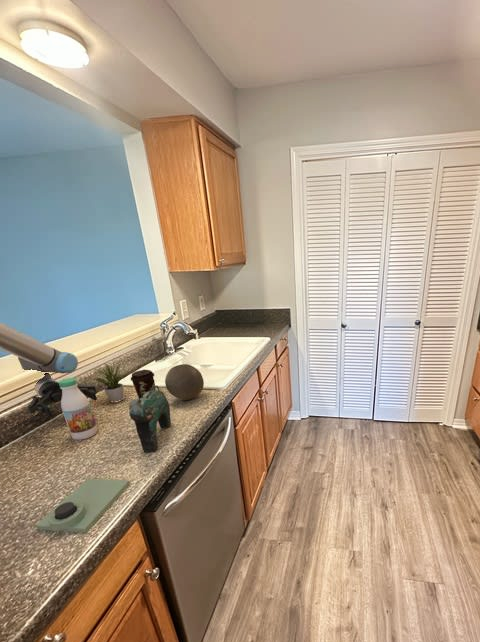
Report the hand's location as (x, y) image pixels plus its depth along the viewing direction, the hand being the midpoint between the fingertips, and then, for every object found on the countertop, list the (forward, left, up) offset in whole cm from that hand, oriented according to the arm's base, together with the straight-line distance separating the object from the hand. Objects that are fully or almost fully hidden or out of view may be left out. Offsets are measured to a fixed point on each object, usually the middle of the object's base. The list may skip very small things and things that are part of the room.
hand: (73, 404), depth 107 cm
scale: (+7, -42, -11) cm, 44 cm away
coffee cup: (+21, +16, -11) cm, 29 cm away
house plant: (+9, +26, -11) cm, 30 cm away
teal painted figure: (+24, -17, -11) cm, 31 cm away
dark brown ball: (+36, +10, -11) cm, 39 cm away
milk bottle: (+1, -2, -11) cm, 11 cm away
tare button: (+5, -47, -8) cm, 48 cm away
